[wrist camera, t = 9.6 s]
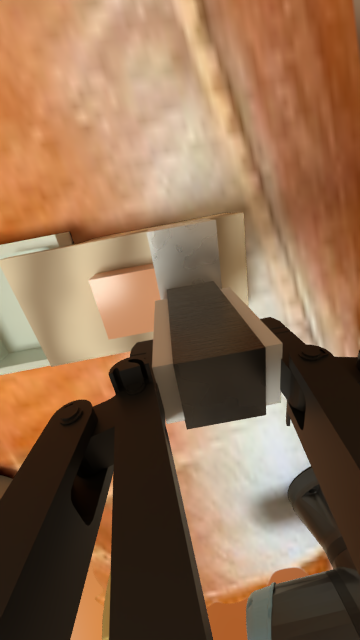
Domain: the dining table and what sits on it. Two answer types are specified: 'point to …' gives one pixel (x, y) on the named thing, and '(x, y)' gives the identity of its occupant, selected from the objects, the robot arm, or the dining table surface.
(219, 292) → the scraper
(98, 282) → the tile
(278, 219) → the dining table surface
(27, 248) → the box
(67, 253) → the ledge
